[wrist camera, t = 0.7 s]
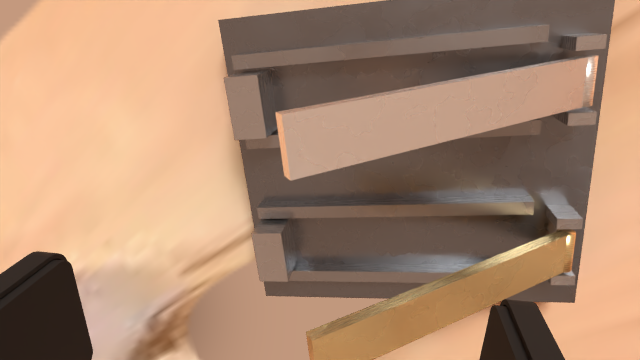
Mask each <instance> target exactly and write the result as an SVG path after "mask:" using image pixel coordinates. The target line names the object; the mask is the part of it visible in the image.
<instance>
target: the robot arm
mask: <svg viewBox="0 0 640 360" xmlns="http://www.w3.org/2000/svg"><path fill="white" fill-rule="evenodd" d="M92 355H93V349H92V344H91V340H90V336H89V332H88V328H87V324H86V320H85V316H84V312H83V309H82V305H81V301H80V297H79V293H78V289H77V285H76V281H75V277H74V273H73V269H72V266H71V264H70V263H69V262H68V261H67V260H66V258H65V257H64V256H63V255H62V254H58V253H48V252H33V253H31V254H29V255H27V256H26V257H24V258H23V259H22V260H20V261H19V262H17V263H16V264H14V265H13V266H11V267H10V268H9V269H7V270H6V271H4V272H3V273H1V274H0V360H91V359H92ZM480 360H565V359H564V357H563V355H562V353H561V351H560V349H559V347H558V345H557V343H556V341H555V339H554V337H553V335H552V333H551V332H550V330H549V328H548V326H547V324H546V322H545V320H544V318H543V316H542V314H541V312H540V310H539V308H538V306H537V305H536V304H535V303H534V302H529V301H519V300H509V299H504V300H502V302H501V304H500V306H496V305H494V306H492V308H491V310H490V315H489V319H488V324H487V328H486V333H485V337H484V342H483V347H482V351H481V356H480Z"/></svg>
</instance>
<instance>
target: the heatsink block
mask: <svg viewBox="0 0 640 360" xmlns="http://www.w3.org/2000/svg"><path fill="white" fill-rule="evenodd" d="M614 3H615V0H386V1H378V2H369V3H361V4H352V5H343V6H335V7H326V8H318V9H309V10H301V11H292V12H284V13H275V14H267V15H258V16H249V17H241V18H232V19H224V20H218V21H219V27H220V32H221V38H222V44H223V50H224V55H225V61H226V67H227V73H228V77H225V78H224V82H225V88H226V93H227V99H228V105H229V110H230V116H231V122H232V127H233V133H234V138H235V140H239V142H240V147H241V153H242V159H243V165H244V170H245V176H246V182H247V188H248V193H249V199H250V205H251V211H252V216H253V222H254V228H255V229H254V231H253V232H252V240H253V245H254V251H255V257H256V262H257V268H258V273H259V279H260V281H264V285H265V291H266V296H300V297H344V298H345V297H346V298H349V297H350V298H392V297H394V296H397V295H399V294H402V293H404V292H407V291H409V290H412V289H414V288H417V287H419V286H422V285H424V284H427V283H429V282H432V281H434V280H437V279H439V278H442V277H444V276H447V275H449V274H452V273H454V272H457V271H459V270H462V269H464V268H467V267H469V266H472V265H474V264H477V263H479V262H482V261H484V260H487V259H489V258H492V257H494V256H497V255H499V254H501V253H504V252H506V251H509V250H511V249H514V248H516V247H519V246H521V245H524V244H526V243H529V242H531V241H534V240H536V239H539V238H541V237H544V236H546V235H549V234H551V233H554V232H556V231H557V229H572V230H574V231H575V232H576V238H575V246H574V254H573V262H572V270H571V271H570V272H568V273H561V274H559V275H557V276H554V277H552V278H550V279H548V280H546V281H543V282H541V283H539V284H537V285H535V286H533V287H530V288H528V289H526V290H524V291H522V292H519V293H517V294H515V295H513V296H511V297H508V298H506V299H509V300H519V301H529V302H567V303H575V295H576V288H577V280H578V273H579V265H580V258H581V250H582V243H583V235H584V228H585V220H586V213H587V205H588V198H589V190H590V183H591V175H592V168H593V160H594V153H595V145H596V138H597V130H598V123H599V115H600V108H601V100H602V93H603V85H604V78H605V70H606V63H607V56H608V48H609V41H610V33H611V26H612V18H613V11H614ZM581 55H598V64H597V72H596V80H595V88H594V96H593V104H592V106H590V107H581V108H577V109H573V110H569V111H565V112H561V113H557V114H553V115H549V116H545V117H542V118H538V119H534V120H530V121H526V122H522V123H518V124H514V125H510V126H506V127H502V128H498V129H494V130H490V131H486V132H482V133H478V134H474V135H470V136H466V137H462V138H458V139H454V140H450V141H446V142H442V143H438V144H434V145H430V146H426V147H422V148H418V149H414V150H410V151H406V152H402V153H399V154H395V155H391V156H387V157H383V158H379V159H375V160H371V161H367V162H363V163H359V164H355V165H351V166H347V167H343V168H339V169H335V170H331V171H327V172H323V173H319V174H315V175H311V176H307V177H303V178H299V179H295V180H291V181H290V180H289V179H288V178H286V177H285V176H284V171H283V163H282V156H281V149H280V142H279V135H278V128H277V120H276V113H275V112H279V111H284V110H290V109H295V108H301V107H306V106H312V105H317V104H322V103H328V102H333V101H339V100H344V99H350V98H355V97H360V96H366V95H371V94H377V93H382V92H388V91H393V90H399V89H404V88H409V87H415V86H420V85H426V84H431V83H437V82H442V81H447V80H453V79H458V78H464V77H469V76H475V75H480V74H486V73H491V72H496V71H502V70H507V69H513V68H518V67H524V66H529V65H534V64H540V63H545V62H551V61H556V60H562V59H567V58H573V57H575V56H581Z"/></svg>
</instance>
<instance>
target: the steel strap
mask: <svg viewBox="0 0 640 360" xmlns="http://www.w3.org/2000/svg"><path fill="white" fill-rule="evenodd" d="M597 64H598V55H581V56H575V57H573V58H567V59H562V60H556V61H551V62H545V63H540V64H534V65H529V66H524V67H518V68H513V69H507V70H502V71H496V72H491V73H486V74H480V75H475V76H469V77H464V78H458V79H453V80H447V81H442V82H437V83H431V84H426V85H420V86H415V87H409V88H404V89H399V90H393V91H388V92H382V93H377V94H371V95H366V96H360V97H355V98H350V99H344V100H339V101H333V102H328V103H322V104H317V105H312V106H306V107H301V108H295V109H290V110H284V111H279V112H275V113H276V120H277V128H278V135H279V142H280V149H281V156H282V163H283V171H284V176H285V177H286V178H288V179H289V180H290V181H291V180H295V179H299V178H303V177H307V176H311V175H315V174H319V173H323V172H327V171H331V170H335V169H339V168H343V167H347V166H351V165H355V164H359V163H363V162H367V161H371V160H375V159H379V158H383V157H387V156H391V155H395V154H399V153H402V152H406V151H410V150H414V149H418V148H422V147H426V146H430V145H434V144H438V143H442V142H446V141H450V140H454V139H458V138H462V137H466V136H470V135H474V134H478V133H482V132H486V131H490V130H494V129H498V128H502V127H506V126H510V125H514V124H518V123H522V122H526V121H530V120H534V119H538V118H542V117H545V116H549V115H553V114H557V113H561V112H565V111H569V110H573V109H577V108H581V107H590V106H592V104H593V96H594V88H595V80H596V72H597Z"/></svg>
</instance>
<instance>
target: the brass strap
mask: <svg viewBox="0 0 640 360" xmlns="http://www.w3.org/2000/svg"><path fill="white" fill-rule="evenodd" d="M575 238H576V232H575V231H574V230H572V229H557V231H556V232H554V233H551V234H549V235H546V236H544V237H541V238H539V239H536V240H534V241H531V242H529V243H526V244H524V245H521V246H519V247H516V248H514V249H511V250H509V251H506V252H504V253H501V254H499V255H497V256H494V257H492V258H489V259H487V260H484V261H482V262H479V263H477V264H474V265H472V266H469V267H467V268H464V269H462V270H459V271H457V272H454V273H452V274H449V275H447V276H444V277H442V278H439V279H437V280H434V281H432V282H429V283H427V284H424V285H422V286H419V287H417V288H414V289H412V290H409V291H407V292H404V293H402V294H399V295H397V296H394V297H392V298H389V299H387V300H385V301H382V302H379V303H377V304H375V305H372V306H369V307H367V308H365V309H362V310H360V311H357V312H355V313H352V314H350V315H347V316H345V317H342V318H340V319H337V320H335V321H332V322H330V323H327V324H325V325H322V326H320V327H317V328H315V329H312V330H310V331H307V332H306V335H307V342H308V350H309V356H310V360H373V359H375V358H377V357H380V356H382V355H384V354H386V353H388V352H390V351H393V350H395V349H397V348H399V347H401V346H404V345H406V344H408V343H410V342H412V341H415V340H417V339H419V338H421V337H423V336H425V335H428V334H430V333H432V332H434V331H436V330H439V329H441V328H443V327H445V326H447V325H449V324H452V323H454V322H456V321H458V320H460V319H463V318H465V317H467V316H469V315H471V314H474V313H476V312H478V311H480V310H482V309H484V308H487V307H489V306H491V305H493V304H495V303H498V302H500V301H502V300H504V299H506V298H508V297H511V296H513V295H515V294H517V293H519V292H522V291H524V290H526V289H528V288H530V287H533V286H535V285H537V284H539V283H541V282H543V281H546V280H548V279H550V278H552V277H554V276H557V275H559V274H561V273H568V272H570V271H571V270H572V262H573V254H574V246H575Z"/></svg>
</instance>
